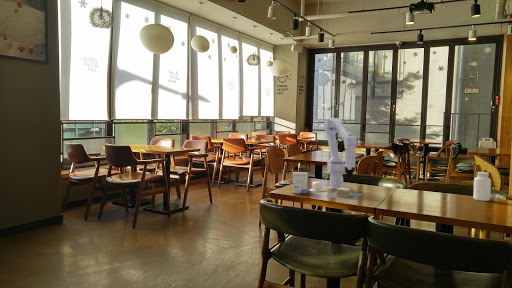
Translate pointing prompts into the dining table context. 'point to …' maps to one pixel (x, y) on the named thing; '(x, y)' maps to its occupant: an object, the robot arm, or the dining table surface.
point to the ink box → (300, 182)
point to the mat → (352, 197)
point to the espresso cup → (317, 186)
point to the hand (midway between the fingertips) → (349, 180)
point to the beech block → (344, 192)
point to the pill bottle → (482, 187)
